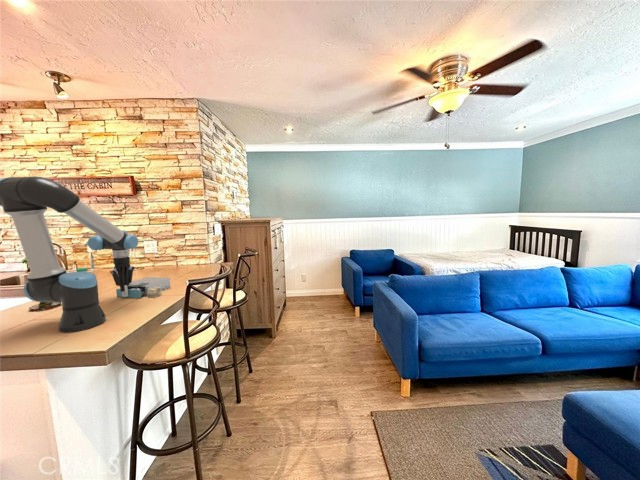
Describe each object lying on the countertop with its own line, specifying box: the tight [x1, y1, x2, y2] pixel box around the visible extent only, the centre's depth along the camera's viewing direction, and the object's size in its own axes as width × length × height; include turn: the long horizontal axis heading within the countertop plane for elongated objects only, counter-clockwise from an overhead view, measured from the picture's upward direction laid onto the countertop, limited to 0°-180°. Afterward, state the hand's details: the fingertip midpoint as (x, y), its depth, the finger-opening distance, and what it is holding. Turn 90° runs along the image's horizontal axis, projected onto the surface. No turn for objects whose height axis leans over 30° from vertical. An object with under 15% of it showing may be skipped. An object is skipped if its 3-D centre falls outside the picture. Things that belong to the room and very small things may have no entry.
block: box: [147, 287, 163, 299], centre depth 149 cm, size 5×5×5 cm
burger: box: [28, 302, 62, 313], centre depth 133 cm, size 12×12×8 cm
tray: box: [115, 288, 145, 299], centre depth 155 cm, size 17×17×5 cm
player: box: [128, 276, 171, 297], centre depth 160 cm, size 18×18×7 cm
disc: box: [131, 287, 145, 291], centre depth 154 cm, size 8×8×2 cm
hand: (125, 296), depth 145 cm, fingers closed
